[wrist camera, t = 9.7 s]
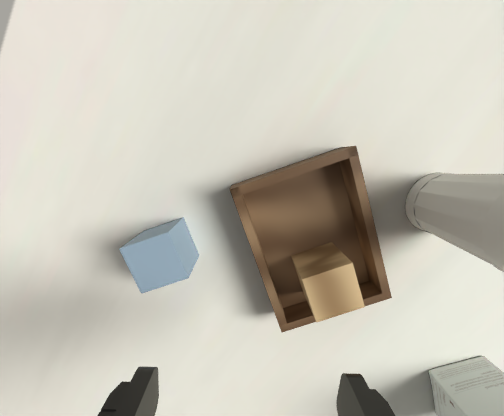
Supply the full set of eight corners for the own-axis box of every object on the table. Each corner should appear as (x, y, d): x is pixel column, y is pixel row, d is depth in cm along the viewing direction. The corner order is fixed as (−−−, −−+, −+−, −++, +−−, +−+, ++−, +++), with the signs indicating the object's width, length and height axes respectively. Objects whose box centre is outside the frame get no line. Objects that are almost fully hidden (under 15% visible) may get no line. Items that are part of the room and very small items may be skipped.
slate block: (143, 230, 25) (119, 248, 20) (183, 217, 25) (168, 232, 20) (160, 267, 26) (141, 293, 21) (199, 254, 26) (188, 278, 21)
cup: (482, 213, 26) (684, 260, 14) (415, 250, 26) (554, 327, 14) (454, 149, 24) (656, 141, 12) (385, 191, 25) (512, 222, 13)
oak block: (331, 241, 25) (352, 262, 20) (342, 278, 26) (364, 306, 21) (290, 255, 25) (302, 279, 20) (302, 291, 26) (316, 322, 21)
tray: (231, 185, 24) (229, 189, 21) (340, 147, 24) (356, 145, 20) (277, 311, 27) (281, 332, 24) (373, 280, 27) (391, 297, 24)
